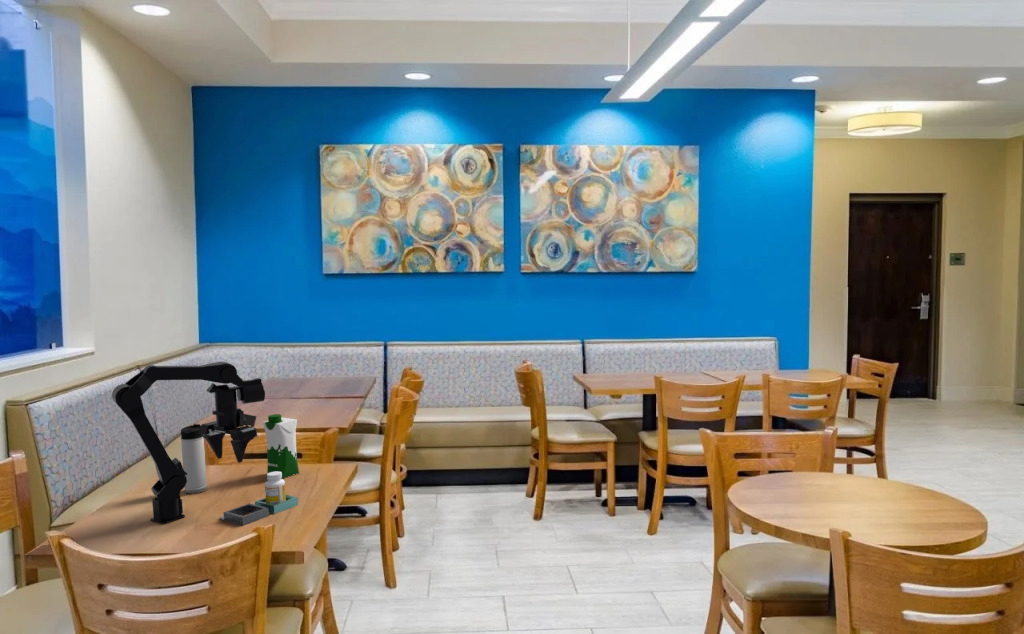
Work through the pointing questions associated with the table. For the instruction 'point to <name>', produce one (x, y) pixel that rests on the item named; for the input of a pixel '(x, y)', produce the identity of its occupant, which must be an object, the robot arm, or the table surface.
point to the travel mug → (193, 459)
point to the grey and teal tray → (257, 510)
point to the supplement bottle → (275, 488)
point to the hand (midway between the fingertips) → (229, 460)
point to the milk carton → (281, 445)
